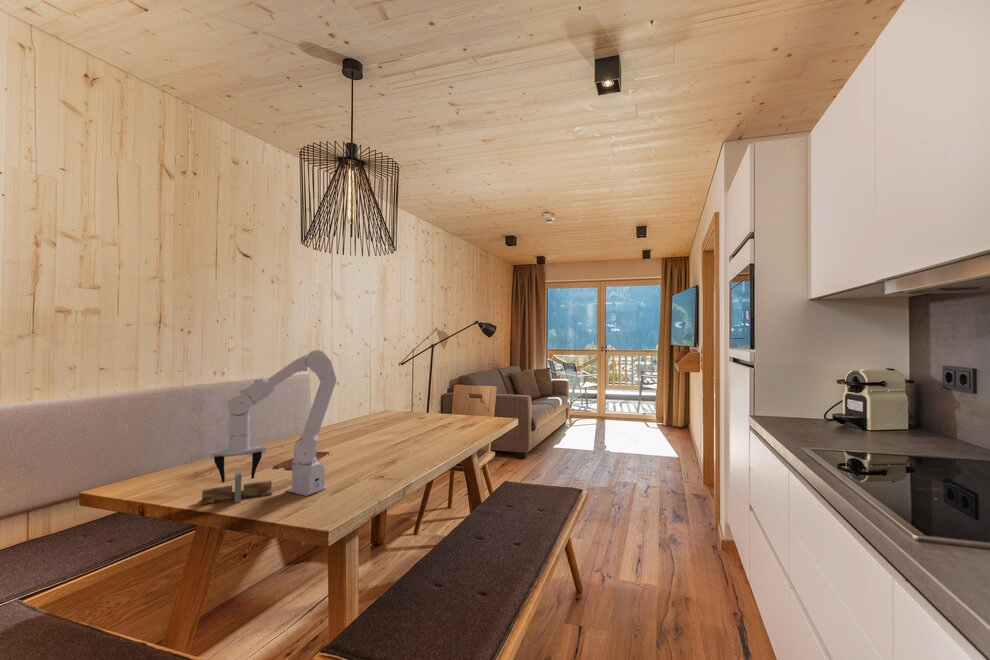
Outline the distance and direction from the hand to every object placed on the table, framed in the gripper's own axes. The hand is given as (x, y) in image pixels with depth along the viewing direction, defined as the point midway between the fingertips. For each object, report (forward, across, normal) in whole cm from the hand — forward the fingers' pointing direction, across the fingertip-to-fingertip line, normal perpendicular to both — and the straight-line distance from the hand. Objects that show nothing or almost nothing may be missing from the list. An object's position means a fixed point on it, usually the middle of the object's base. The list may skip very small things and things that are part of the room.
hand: (238, 479), depth 136 cm
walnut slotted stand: (+5, 0, 0) cm, 5 cm away
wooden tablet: (+6, -23, -34) cm, 41 cm away
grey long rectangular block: (+5, 0, 0) cm, 5 cm away
